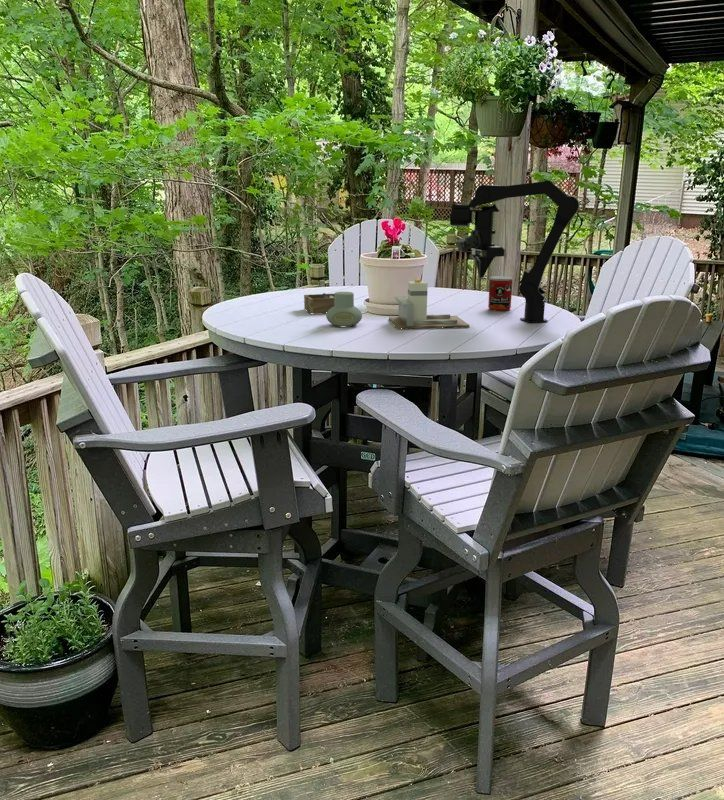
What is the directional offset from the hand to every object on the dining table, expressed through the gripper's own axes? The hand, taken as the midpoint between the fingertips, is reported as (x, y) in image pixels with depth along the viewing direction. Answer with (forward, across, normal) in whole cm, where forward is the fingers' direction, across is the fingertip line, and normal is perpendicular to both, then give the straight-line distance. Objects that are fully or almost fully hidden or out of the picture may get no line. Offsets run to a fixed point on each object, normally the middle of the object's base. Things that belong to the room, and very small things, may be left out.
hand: (481, 277), depth 219 cm
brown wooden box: (+13, -28, -44) cm, 54 cm away
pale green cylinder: (+12, +3, -23) cm, 26 cm away
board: (+13, +4, -19) cm, 24 cm away
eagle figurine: (+14, -28, -44) cm, 54 cm away
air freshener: (+13, -1, -45) cm, 47 cm away
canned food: (+13, -13, +14) cm, 23 cm away
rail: (+12, +3, -27) cm, 30 cm away
